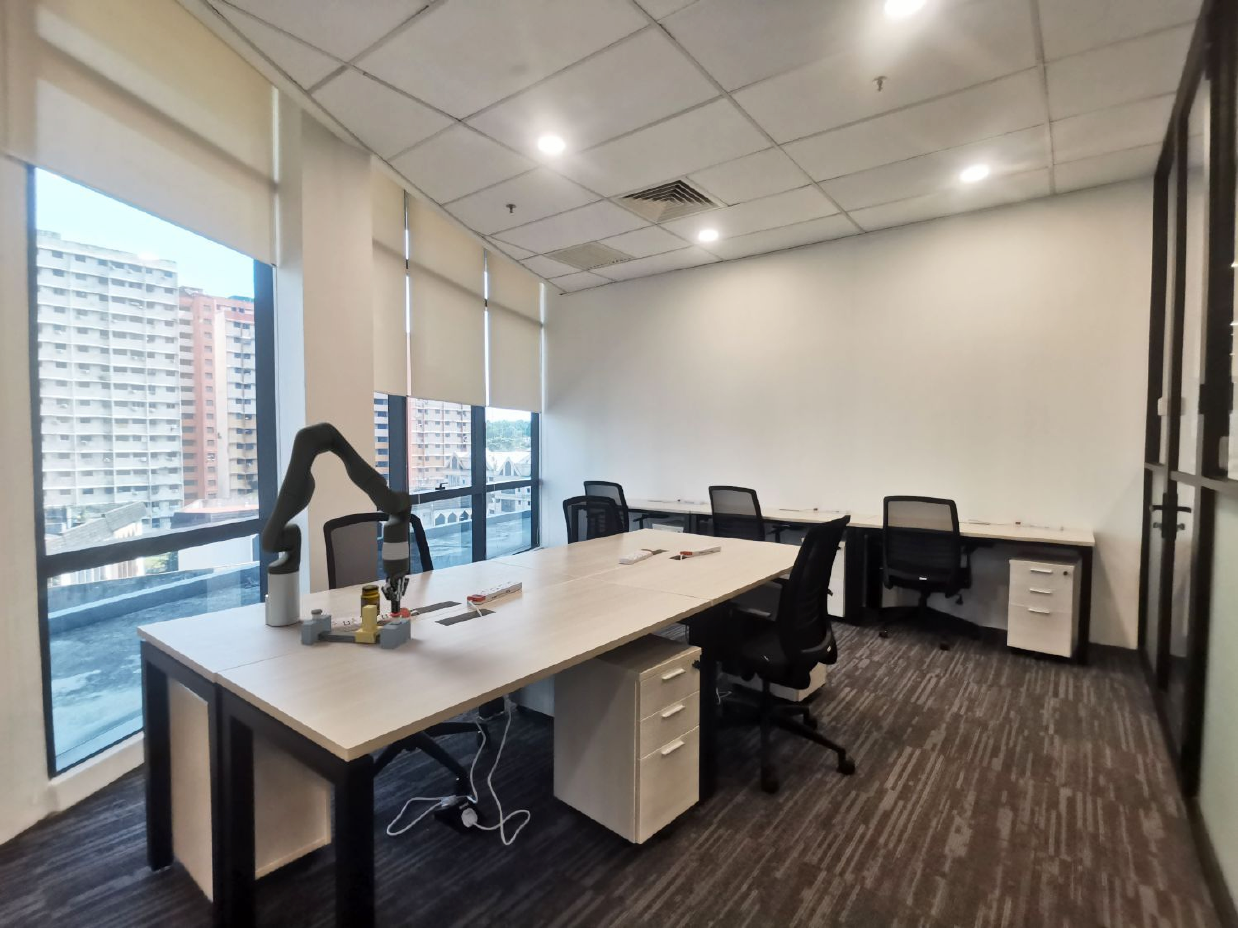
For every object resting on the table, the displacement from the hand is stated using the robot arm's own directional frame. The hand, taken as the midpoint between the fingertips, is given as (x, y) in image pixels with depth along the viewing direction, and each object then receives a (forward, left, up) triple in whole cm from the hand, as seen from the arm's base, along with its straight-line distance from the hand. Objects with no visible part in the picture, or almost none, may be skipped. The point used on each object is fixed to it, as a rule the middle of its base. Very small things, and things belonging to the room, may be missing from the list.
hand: (395, 612), depth 170 cm
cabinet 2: (0, 0, -9) cm, 9 cm away
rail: (-13, 0, -9) cm, 16 cm away
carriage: (-9, 0, -9) cm, 13 cm away
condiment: (-20, +18, -10) cm, 29 cm away
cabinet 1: (-26, 0, -9) cm, 28 cm away
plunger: (0, 0, -6) cm, 6 cm away
